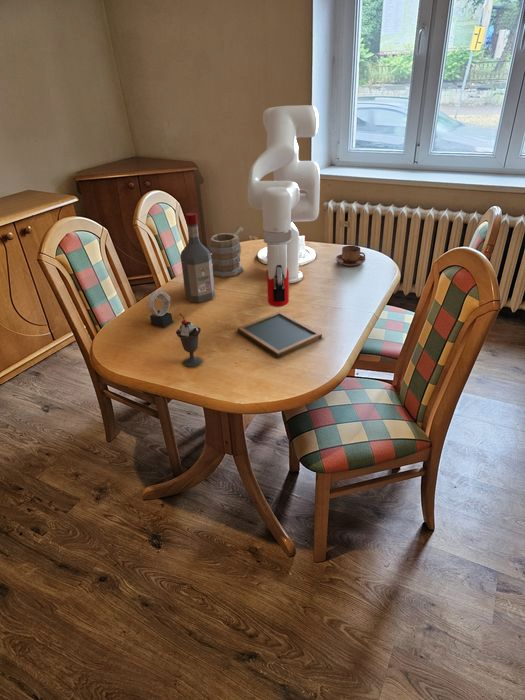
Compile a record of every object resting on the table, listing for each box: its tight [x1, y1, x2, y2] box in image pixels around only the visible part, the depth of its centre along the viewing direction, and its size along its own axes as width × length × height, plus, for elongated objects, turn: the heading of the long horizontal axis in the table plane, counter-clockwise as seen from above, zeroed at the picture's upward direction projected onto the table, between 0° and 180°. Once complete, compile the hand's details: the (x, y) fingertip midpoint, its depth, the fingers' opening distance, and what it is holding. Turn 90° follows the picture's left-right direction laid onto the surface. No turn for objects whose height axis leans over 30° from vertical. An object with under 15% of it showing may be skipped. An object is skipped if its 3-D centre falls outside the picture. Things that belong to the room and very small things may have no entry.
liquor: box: [180, 212, 216, 304], centre depth 158 cm, size 9×9×30 cm
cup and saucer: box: [335, 245, 366, 267], centre depth 188 cm, size 12×12×6 cm
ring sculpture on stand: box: [147, 290, 174, 328], centre depth 147 cm, size 6×8×11 cm
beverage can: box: [266, 267, 290, 308], centre depth 132 cm, size 6×6×12 cm
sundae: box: [175, 313, 202, 368], centre depth 125 cm, size 7×7×15 cm
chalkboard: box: [237, 310, 323, 359], centre depth 140 cm, size 20×17×2 cm
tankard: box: [208, 226, 244, 278], centre depth 185 cm, size 20×13×15 cm, turn 148°
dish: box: [257, 235, 317, 267], centre depth 196 cm, size 25×25×11 cm
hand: (278, 295), depth 134 cm, fingers closed on beverage can, 5 cm apart
